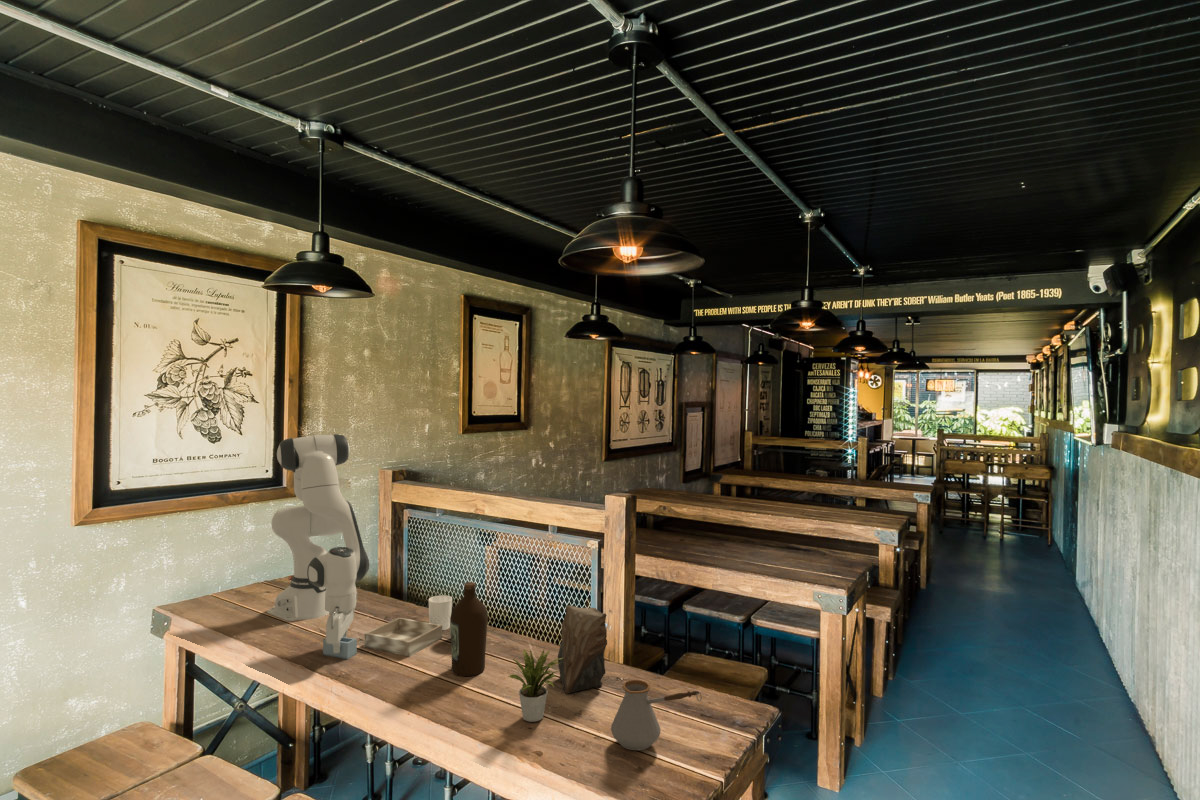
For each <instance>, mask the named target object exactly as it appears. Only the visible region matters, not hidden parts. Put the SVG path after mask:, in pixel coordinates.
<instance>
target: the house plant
mask: <svg viewBox="0 0 1200 800" xmlns="http://www.w3.org/2000/svg"><path fill="white" fill-rule="evenodd" d="M550 651H551V650H548V651H547V652H545V649H543V651H542V652H541V654H540V655H539V657H538V659H537V661H536V663H535V660H534V657H533V652H532V649H530V650H529V654H528V651H527V650H526V649H524V648H523V659H524V661H521V662H524V666H523V665H522V664H521V662H520V661H518V660H517V659H516V658H512V660H513V661H514V662H515V663H516V665H517V666H518V667H519V668H518V667H517V666H515V668H517V670H519V671H520V673H521V675H522V676H523V677H524V679H525V680H524V679H523V678H522V677H521V676H519V675H517V674H510V675H508V678H512V679H515V680H517V681H520V682H521V683H522V685H521V686H522V687H521V688H520V689H519V690H518V696H519V701H520V708H521V714H522V719H523V720H524V721H526V722H529V723H530V722H538V721H541V720H542V719H543V718H544V714H545V708H546V702H547V696H548V691H549V690H548V688H546V687H545V686H546V685H547V684H548V685H551V686H552V687H553V688H555V685H554V683H553V681H551V680H549V679H552V678H555V677H557V675H556V673H560V671H559V670H558V671H552V670H549V669H550V668H551V667H552V668H555V666H554V665H558V664H559V662H558V660H560V659H563V658H559V659H558V658H556V659H554V660H552V661H550V662H549V663H548V664H547V665H545V663H546V662H547V658H548V655H549V654H550ZM544 665H545V666H544ZM547 674H548V675H547ZM544 676H545V677H544Z"/></svg>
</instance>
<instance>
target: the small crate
mask: <svg viewBox="0 0 1200 800" xmlns="http://www.w3.org/2000/svg"><path fill="white" fill-rule="evenodd" d="M340 645H341V650H340V652H339V653H334V652H333V644H326V637H325V638H323V641H322V656H327V657H333V658H338V659H343V660H349V659H350V658H352V657H354V656H356V655H357V654H358V651H357V649H358V648H357V646H358V638H355V637H347V636H346V637H342V639H341V641H340Z"/></svg>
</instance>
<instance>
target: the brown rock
mask: <svg viewBox="0 0 1200 800" xmlns="http://www.w3.org/2000/svg"><path fill="white" fill-rule="evenodd" d="M564 615H565V616H564V618H563V620H562V624H561V638H562V641H561V642H560V645H559V649H558V653H557V659H559V658H563V659H560V660H557V662H559V664H557V665H558V666H557V667H558V671H559V679H560V681H561V682H560V683H562V688H563V690H564V692H565V693H566V695H567V694H572V693H575V692H580V691H583V690H589V689H591V688H598V687H600V686H602V685H603V681H602V679H603V678H604V676H605V674H606V666H605V663H606V661H605V660H606V659H605V657H604V656H605V651H606V649H607V648H606V647H607V645H608V640H607V628H606V626H607V625H606V620H607V614H606V613H603V612H601V611H599V610H598V609H597V608H596V607H579V606H578V607H577V606H576V605H569V604H568V605H566V607H565V614H564Z"/></svg>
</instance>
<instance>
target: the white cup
mask: <svg viewBox="0 0 1200 800" xmlns="http://www.w3.org/2000/svg"><path fill="white" fill-rule="evenodd" d="M452 605H453V597H452V596H449V595H445V594H444V595H435V596H431V597H429V598H428V619H429V623H432V624H438V625H442V631H446V630H448V629H449V630H450V616H451V613H452V610H453V606H452Z"/></svg>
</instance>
